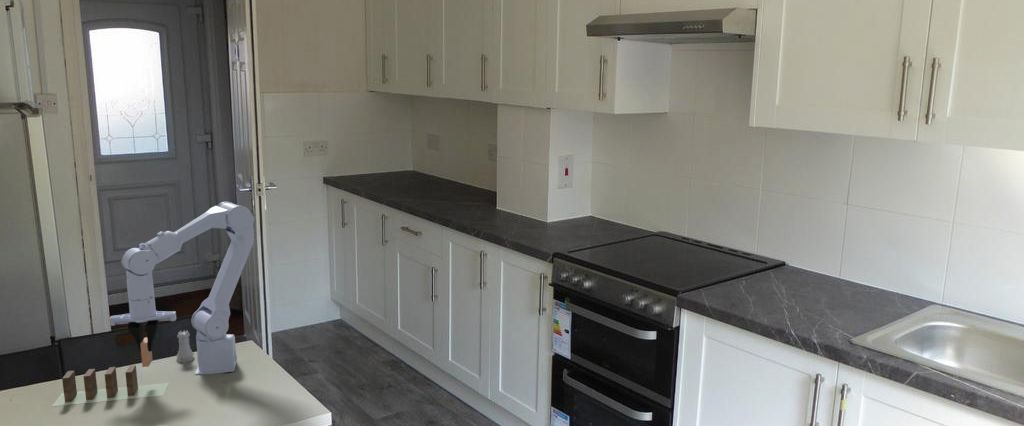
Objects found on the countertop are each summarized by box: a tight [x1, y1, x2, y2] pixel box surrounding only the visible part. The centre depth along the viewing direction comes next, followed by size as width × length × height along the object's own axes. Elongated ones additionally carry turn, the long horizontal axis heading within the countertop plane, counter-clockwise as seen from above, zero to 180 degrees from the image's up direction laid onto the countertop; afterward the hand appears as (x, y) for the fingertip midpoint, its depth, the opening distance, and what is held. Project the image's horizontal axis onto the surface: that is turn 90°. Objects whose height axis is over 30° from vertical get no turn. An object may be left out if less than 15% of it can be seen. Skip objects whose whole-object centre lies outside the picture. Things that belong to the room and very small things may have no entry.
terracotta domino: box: [140, 336, 154, 368], centre depth 187 cm, size 1×4×6 cm, turn 14°
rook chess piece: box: [176, 330, 195, 363], centre depth 204 cm, size 4×4×8 cm
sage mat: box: [51, 382, 170, 407], centre depth 183 cm, size 24×8×1 cm, turn 105°
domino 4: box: [124, 364, 139, 396], centre depth 183 cm, size 1×4×6 cm, turn 15°
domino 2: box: [83, 368, 98, 400], centre depth 181 cm, size 1×4×6 cm, turn 15°
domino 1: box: [61, 370, 77, 402], centre depth 180 cm, size 1×4×6 cm, turn 14°
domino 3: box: [104, 366, 119, 398], centre depth 182 cm, size 1×4×6 cm, turn 14°
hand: (146, 350), depth 187 cm, fingers closed on terracotta domino, 1 cm apart
